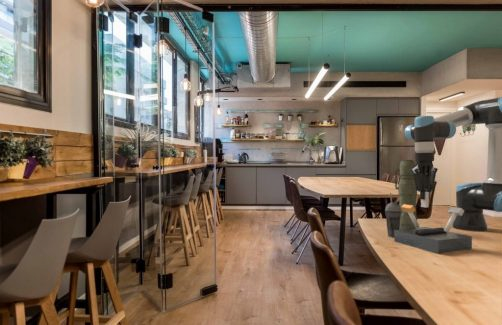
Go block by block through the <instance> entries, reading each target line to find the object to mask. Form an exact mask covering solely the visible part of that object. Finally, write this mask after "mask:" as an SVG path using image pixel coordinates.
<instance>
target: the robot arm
mask: <svg viewBox="0 0 502 325" xmlns="http://www.w3.org/2000/svg"><path fill="white" fill-rule="evenodd" d="M482 124H483V125H484V124H485V125H484V126H485V128H487V129H488V139H487V140H488V141H487V145H488V146H487V147H488V148H487V166H486V179H484V180H483V181H482V182H471V183H459V184H457V186H456V191H455V193H456V195H455V196H456V197H455V201H456V203H455V204H456V206H455V207H457V208H462V209H463V210H464V213H463V215H462V216H459V215H457V216H456V218H455V220H454V222H453V224H452V228H453V229H457V230H461V231H462V230H463V231H471V232H474V231H475V232H478V231H479V232H485V231H487V230H488V224H487V220H486V219H485V216H484V211H491V212H497V213H502V96H500V97H495V98H488V99H482V100H478V101H475V102H473V103H469V104H467V105H464V106H462V107H459V108H458V109H456V111H453V112H449V113H447V114H443V115H440V116H438V117H434V116H433V115H421V116H420V115H419V116H416V117H415V118H414V124H409V125H407V126H406V127H405V128H404V136H405V138H406V139H407V140H409V141H414V152H415V153H414V162H416V163H415V165H416V167H415V168H414V169H411V171H412V173H413V176H414V181H415V187H416V190H418V191H417V192H419V197H420V198H419V199H420V207H421V208H430V207H429V205H430V203H429V202H430V193H432V192H433V191H434V188H435V183H436V175H437V172H438V167H434V164H433V162H434V161H435V140H438V139H439V140H440V139H441V140H442V139H443V140H445V139H446V140H448V139H451V138H453V137H454V136H455V135H456V134H457V128H458V127H461V126H462V127H467V126H471V125H482Z"/></svg>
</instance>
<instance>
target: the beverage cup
mask: <svg viewBox="0 0 502 325" xmlns="http://www.w3.org/2000/svg"><path fill="white" fill-rule="evenodd" d="M389 195H390V202H389V203H388V204H386V206H385V209H384V213H385V219H386V230H387V237H389V238H394V230H397V229H399V227H400V216H401V212H402V211H401V207H400V206H399V203H398V202H394V201H393V198H392V193H391V192H389Z"/></svg>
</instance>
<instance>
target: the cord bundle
mask: <svg viewBox="0 0 502 325" xmlns="http://www.w3.org/2000/svg"><path fill="white" fill-rule="evenodd" d="M430 228H431V229H421V230H415V231H414V232H415V234H419V235H423V234H433V233H442V232H445V231H444V229H445V227H444V228H443V227H430Z"/></svg>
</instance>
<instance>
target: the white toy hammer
mask: <svg viewBox="0 0 502 325" xmlns="http://www.w3.org/2000/svg"><path fill="white" fill-rule="evenodd" d="M447 212H448V213H449V214H450V217H449V219H448V221H447V223H446V225H445V227H444V228H445V229H444V231H445V232H447V233H449V232H451V228H452V227H453V222H454V220H455V218H456V216H457V215H459V216H462V215H463V213H464V210H463V209H462V208H457V207H456V206H449V209H448V211H447Z"/></svg>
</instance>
